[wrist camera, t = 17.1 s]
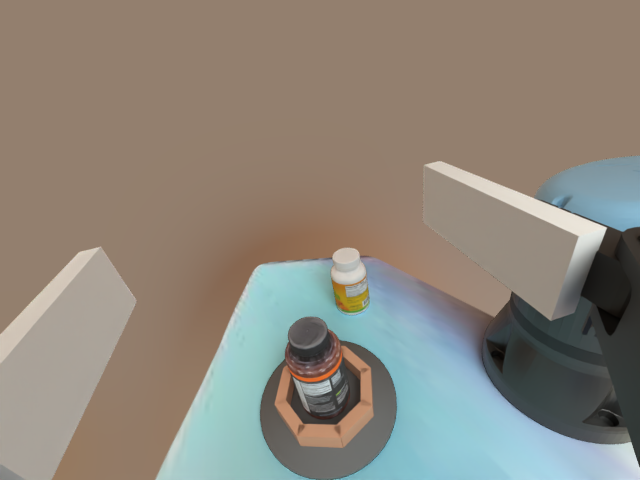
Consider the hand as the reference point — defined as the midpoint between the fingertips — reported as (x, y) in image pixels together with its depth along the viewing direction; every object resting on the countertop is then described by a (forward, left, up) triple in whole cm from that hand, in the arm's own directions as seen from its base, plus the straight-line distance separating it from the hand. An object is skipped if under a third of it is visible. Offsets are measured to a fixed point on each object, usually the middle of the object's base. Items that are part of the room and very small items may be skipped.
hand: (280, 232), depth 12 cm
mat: (-4, -9, -28) cm, 30 cm away
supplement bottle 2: (-17, -18, -28) cm, 38 cm away
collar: (-4, -9, -27) cm, 29 cm away
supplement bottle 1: (-4, -9, -28) cm, 29 cm away
